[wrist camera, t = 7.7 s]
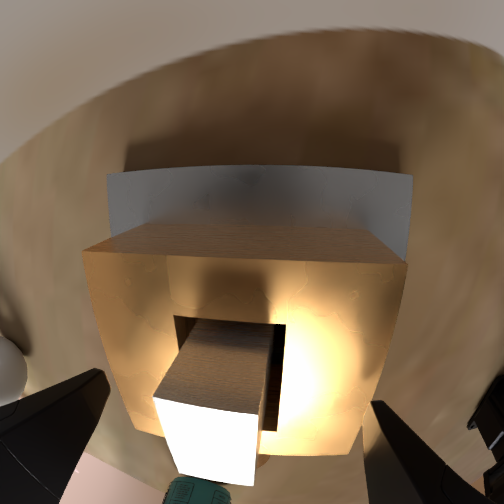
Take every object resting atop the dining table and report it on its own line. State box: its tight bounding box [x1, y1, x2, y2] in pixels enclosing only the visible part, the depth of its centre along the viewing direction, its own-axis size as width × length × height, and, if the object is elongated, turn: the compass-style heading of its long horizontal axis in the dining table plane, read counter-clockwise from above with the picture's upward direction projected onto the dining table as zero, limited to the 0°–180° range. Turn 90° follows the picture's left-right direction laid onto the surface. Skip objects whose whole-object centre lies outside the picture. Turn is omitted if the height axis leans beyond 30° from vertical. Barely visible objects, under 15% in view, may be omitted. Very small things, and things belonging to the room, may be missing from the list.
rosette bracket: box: [82, 165, 413, 468], centre depth 12 cm, size 14×15×6 cm
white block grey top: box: [152, 318, 276, 486], centre depth 10 cm, size 2×4×9 cm, turn 179°
